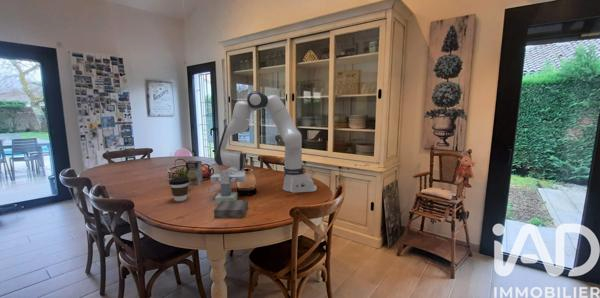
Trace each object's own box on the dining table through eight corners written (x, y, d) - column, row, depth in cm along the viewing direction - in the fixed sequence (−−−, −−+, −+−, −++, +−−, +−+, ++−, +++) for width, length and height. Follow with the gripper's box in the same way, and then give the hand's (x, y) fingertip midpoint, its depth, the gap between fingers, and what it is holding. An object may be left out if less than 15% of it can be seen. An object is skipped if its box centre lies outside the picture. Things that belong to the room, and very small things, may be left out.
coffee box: (186, 185, 194) (184, 162, 192) (190, 182, 201) (189, 160, 198) (199, 185, 193) (197, 162, 191) (203, 182, 200) (201, 160, 197)
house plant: (169, 189, 183) (167, 165, 181) (191, 186, 191) (189, 163, 188) (173, 195, 172) (171, 169, 169) (196, 191, 179) (195, 166, 177)
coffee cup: (184, 195, 171) (183, 176, 169) (194, 199, 164) (192, 179, 162) (167, 200, 163) (165, 180, 161) (176, 204, 156) (174, 183, 154)
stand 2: (248, 207, 150) (247, 200, 149) (243, 217, 136) (242, 209, 136) (222, 207, 150) (221, 200, 149) (214, 217, 136) (214, 210, 135)
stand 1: (237, 198, 165) (237, 192, 164) (233, 204, 155) (233, 197, 154) (220, 198, 165) (220, 192, 164) (215, 204, 155) (215, 197, 154)
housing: (231, 193, 161) (230, 169, 159) (229, 195, 157) (228, 171, 155) (223, 193, 161) (222, 169, 159) (221, 196, 157) (220, 171, 155)
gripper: (213, 170, 170) (206, 176, 157) (247, 170, 170) (243, 175, 157) (214, 180, 171) (207, 187, 157) (247, 180, 171) (243, 186, 158)
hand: (225, 181), depth 157 cm, fingers closed on housing, 5 cm apart
